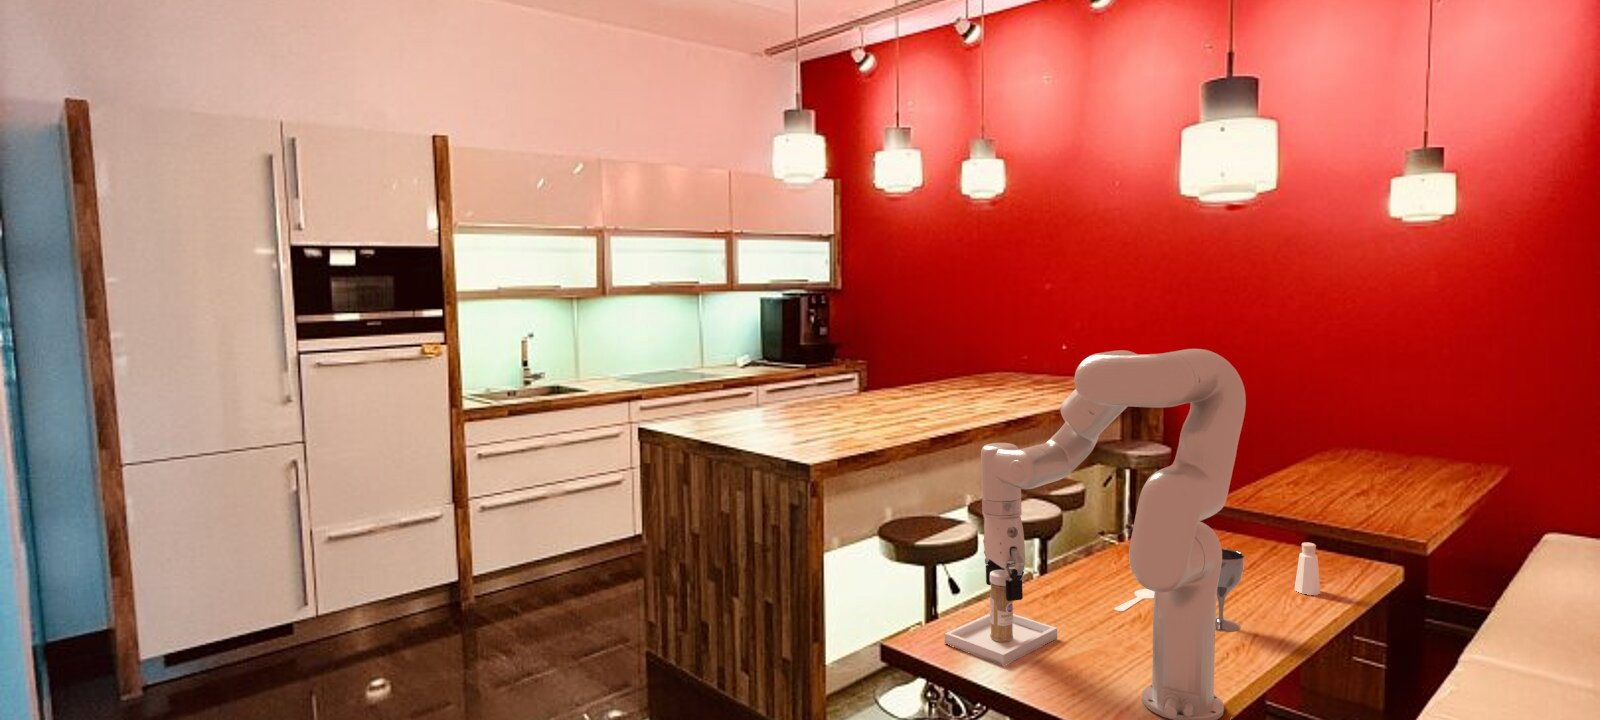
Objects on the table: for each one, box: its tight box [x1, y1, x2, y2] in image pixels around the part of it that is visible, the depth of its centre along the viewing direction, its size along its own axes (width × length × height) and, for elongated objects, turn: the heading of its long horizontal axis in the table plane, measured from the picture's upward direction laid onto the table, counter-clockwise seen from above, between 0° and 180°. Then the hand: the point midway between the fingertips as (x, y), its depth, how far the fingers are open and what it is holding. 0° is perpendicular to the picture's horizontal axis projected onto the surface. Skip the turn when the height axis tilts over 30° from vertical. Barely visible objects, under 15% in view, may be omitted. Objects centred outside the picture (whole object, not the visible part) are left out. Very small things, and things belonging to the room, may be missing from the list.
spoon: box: [1113, 588, 1155, 612], centre depth 197 cm, size 5×18×1 cm, turn 133°
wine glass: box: [1215, 547, 1245, 633], centre depth 182 cm, size 8×8×15 cm
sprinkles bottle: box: [989, 569, 1014, 642], centre depth 176 cm, size 5×5×13 cm
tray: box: [944, 613, 1058, 667], centre depth 177 cm, size 18×14×2 cm
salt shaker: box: [1294, 541, 1321, 596], centre depth 200 cm, size 5×5×11 cm
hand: (1003, 591), depth 175 cm, fingers open, 9 cm apart
